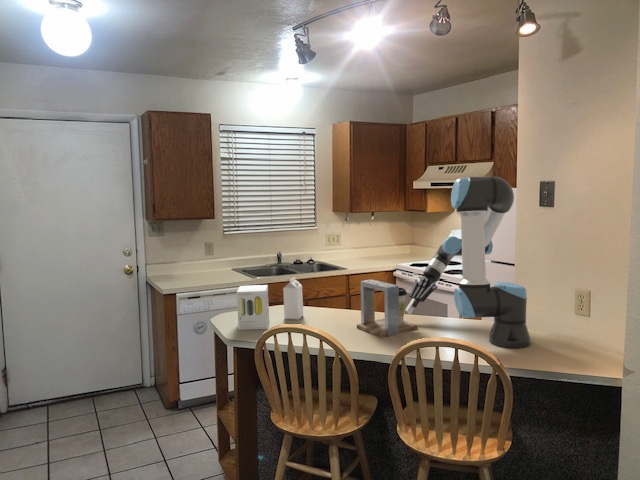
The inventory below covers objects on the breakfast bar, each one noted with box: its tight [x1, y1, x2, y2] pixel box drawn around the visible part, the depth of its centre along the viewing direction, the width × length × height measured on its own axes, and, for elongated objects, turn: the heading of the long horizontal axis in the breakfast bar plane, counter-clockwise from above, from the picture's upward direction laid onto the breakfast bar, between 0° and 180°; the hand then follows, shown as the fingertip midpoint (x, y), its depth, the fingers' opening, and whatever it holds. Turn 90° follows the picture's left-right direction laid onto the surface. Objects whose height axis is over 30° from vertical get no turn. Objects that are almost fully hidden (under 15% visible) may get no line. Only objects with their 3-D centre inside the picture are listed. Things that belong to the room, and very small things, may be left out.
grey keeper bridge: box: [360, 278, 400, 337], centre depth 218 cm, size 18×6×20 cm, turn 33°
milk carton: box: [282, 276, 304, 320], centre depth 242 cm, size 7×7×19 cm
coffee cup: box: [399, 287, 408, 324], centre depth 223 cm, size 10×10×15 cm
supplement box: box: [236, 284, 270, 331], centre depth 231 cm, size 13×13×18 cm
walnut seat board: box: [356, 317, 418, 338], centre depth 222 cm, size 17×20×2 cm
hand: (407, 312), depth 228 cm, fingers closed
